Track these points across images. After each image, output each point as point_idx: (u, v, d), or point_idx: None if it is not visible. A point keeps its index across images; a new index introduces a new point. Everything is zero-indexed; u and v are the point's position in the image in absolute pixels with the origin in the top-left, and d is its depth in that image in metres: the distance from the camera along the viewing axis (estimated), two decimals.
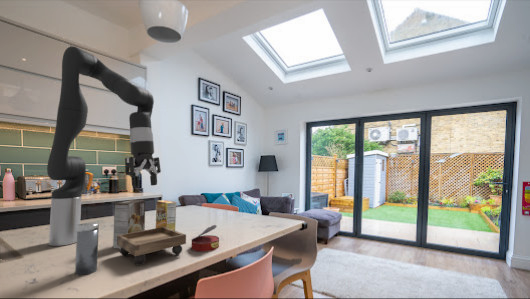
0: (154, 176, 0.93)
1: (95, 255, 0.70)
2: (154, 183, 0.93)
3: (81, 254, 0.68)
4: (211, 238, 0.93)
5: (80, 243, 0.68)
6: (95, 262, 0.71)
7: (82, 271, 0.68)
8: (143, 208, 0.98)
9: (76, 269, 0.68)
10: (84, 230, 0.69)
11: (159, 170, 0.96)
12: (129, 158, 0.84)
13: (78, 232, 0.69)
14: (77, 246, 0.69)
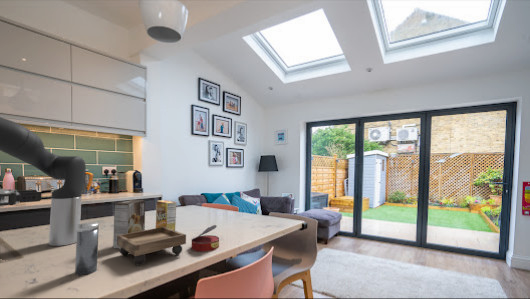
0: None
1: (95, 255, 0.70)
2: None
3: (81, 254, 0.68)
4: (211, 238, 0.93)
5: (80, 243, 0.68)
6: (95, 262, 0.71)
7: (82, 271, 0.68)
8: (143, 208, 0.98)
9: (76, 269, 0.68)
10: (84, 230, 0.69)
11: (10, 204, 0.55)
12: None
13: (78, 232, 0.69)
14: (77, 246, 0.69)
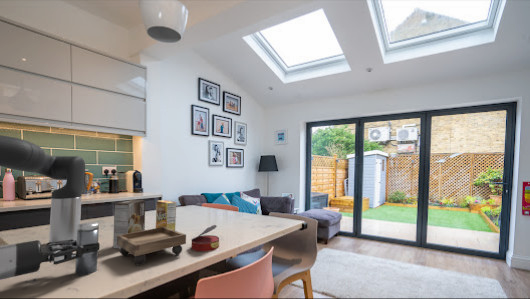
0: None
1: (95, 255, 0.71)
2: None
3: None
4: (211, 238, 0.93)
5: (80, 243, 0.68)
6: (95, 262, 0.71)
7: (82, 271, 0.68)
8: (143, 208, 0.98)
9: (76, 269, 0.68)
10: (84, 230, 0.69)
11: None
12: None
13: (78, 232, 0.69)
14: None
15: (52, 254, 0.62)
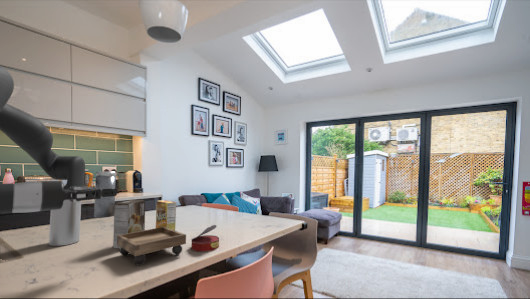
0: None
1: (112, 200, 0.74)
2: None
3: None
4: (211, 238, 0.93)
5: (99, 188, 0.72)
6: (112, 207, 0.74)
7: (101, 213, 0.72)
8: (143, 208, 0.98)
9: (95, 212, 0.72)
10: (103, 175, 0.73)
11: (97, 198, 0.69)
12: None
13: (97, 177, 0.73)
14: None
15: (74, 192, 0.66)
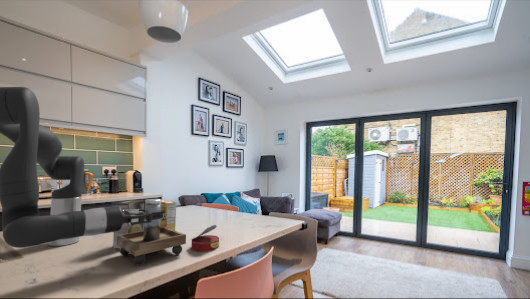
0: None
1: (159, 225, 0.84)
2: None
3: (149, 223, 0.82)
4: (211, 238, 0.93)
5: None
6: (159, 231, 0.84)
7: (150, 237, 0.81)
8: (143, 208, 0.98)
9: (145, 236, 0.82)
10: (152, 204, 0.82)
11: None
12: None
13: (147, 205, 0.83)
14: (146, 217, 0.82)
15: (130, 217, 0.75)
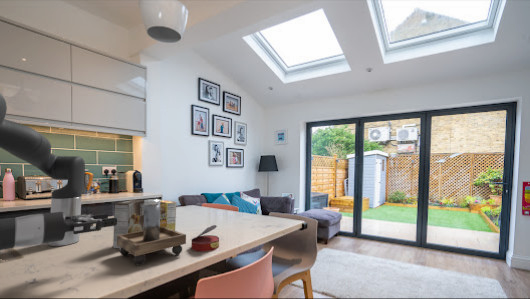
0: None
1: (159, 226, 0.84)
2: None
3: (149, 224, 0.82)
4: (211, 238, 0.93)
5: (148, 215, 0.82)
6: (159, 232, 0.84)
7: (150, 238, 0.81)
8: (143, 208, 0.98)
9: (145, 237, 0.82)
10: (151, 204, 0.82)
11: None
12: None
13: (146, 206, 0.82)
14: (145, 217, 0.82)
15: None
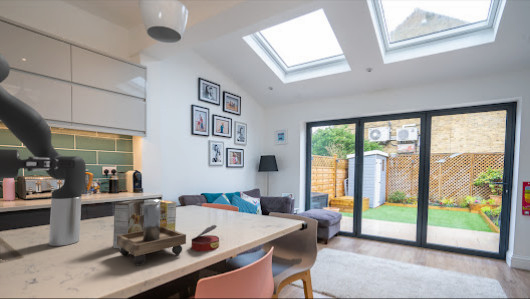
0: None
1: (159, 226, 0.84)
2: None
3: (149, 224, 0.82)
4: (211, 238, 0.93)
5: (148, 215, 0.82)
6: (159, 232, 0.84)
7: (150, 238, 0.81)
8: (143, 208, 0.98)
9: (145, 237, 0.82)
10: (151, 204, 0.82)
11: (51, 168, 0.67)
12: None
13: (146, 206, 0.82)
14: (145, 217, 0.82)
15: None
